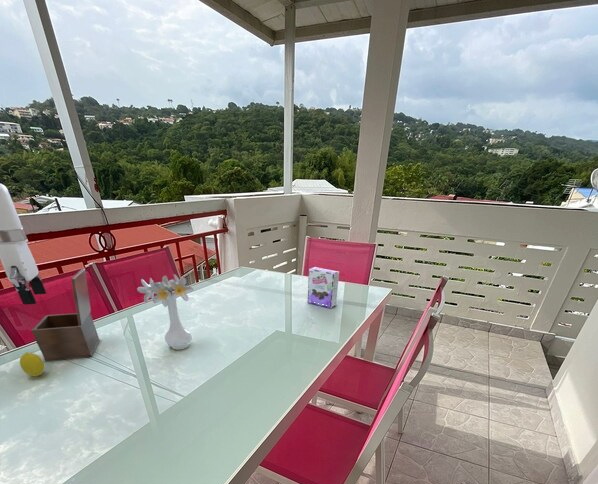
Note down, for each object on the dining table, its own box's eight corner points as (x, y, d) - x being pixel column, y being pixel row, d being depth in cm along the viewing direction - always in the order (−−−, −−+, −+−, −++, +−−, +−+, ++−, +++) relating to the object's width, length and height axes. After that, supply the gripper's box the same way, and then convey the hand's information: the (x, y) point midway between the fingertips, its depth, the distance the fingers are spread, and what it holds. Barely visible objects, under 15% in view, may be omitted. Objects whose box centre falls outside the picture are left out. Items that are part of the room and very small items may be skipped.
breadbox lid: (70, 278, 98) (74, 279, 99) (82, 267, 109) (85, 268, 110) (78, 325, 106) (81, 325, 106) (88, 310, 117) (91, 311, 117)
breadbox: (45, 361, 109) (31, 330, 103) (57, 344, 120) (45, 315, 114) (91, 357, 113) (80, 326, 106) (99, 340, 123) (90, 312, 117)
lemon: (33, 372, 103) (21, 348, 99) (52, 371, 104) (41, 348, 100) (23, 381, 99) (10, 357, 94) (42, 380, 100) (31, 356, 95)
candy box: (306, 302, 165) (308, 268, 156) (313, 299, 169) (314, 266, 160) (330, 308, 159) (333, 273, 150) (336, 305, 163) (339, 270, 154)
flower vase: (161, 337, 127) (145, 270, 113) (208, 340, 126) (198, 272, 112) (145, 353, 116) (125, 280, 102) (196, 356, 115) (184, 282, 101)
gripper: (5, 231, 96) (30, 291, 105) (-23, 242, 82) (9, 309, 92) (35, 231, 98) (57, 289, 107) (13, 241, 84) (41, 307, 94)
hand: (35, 298), depth 99 cm, fingers open, 9 cm apart
